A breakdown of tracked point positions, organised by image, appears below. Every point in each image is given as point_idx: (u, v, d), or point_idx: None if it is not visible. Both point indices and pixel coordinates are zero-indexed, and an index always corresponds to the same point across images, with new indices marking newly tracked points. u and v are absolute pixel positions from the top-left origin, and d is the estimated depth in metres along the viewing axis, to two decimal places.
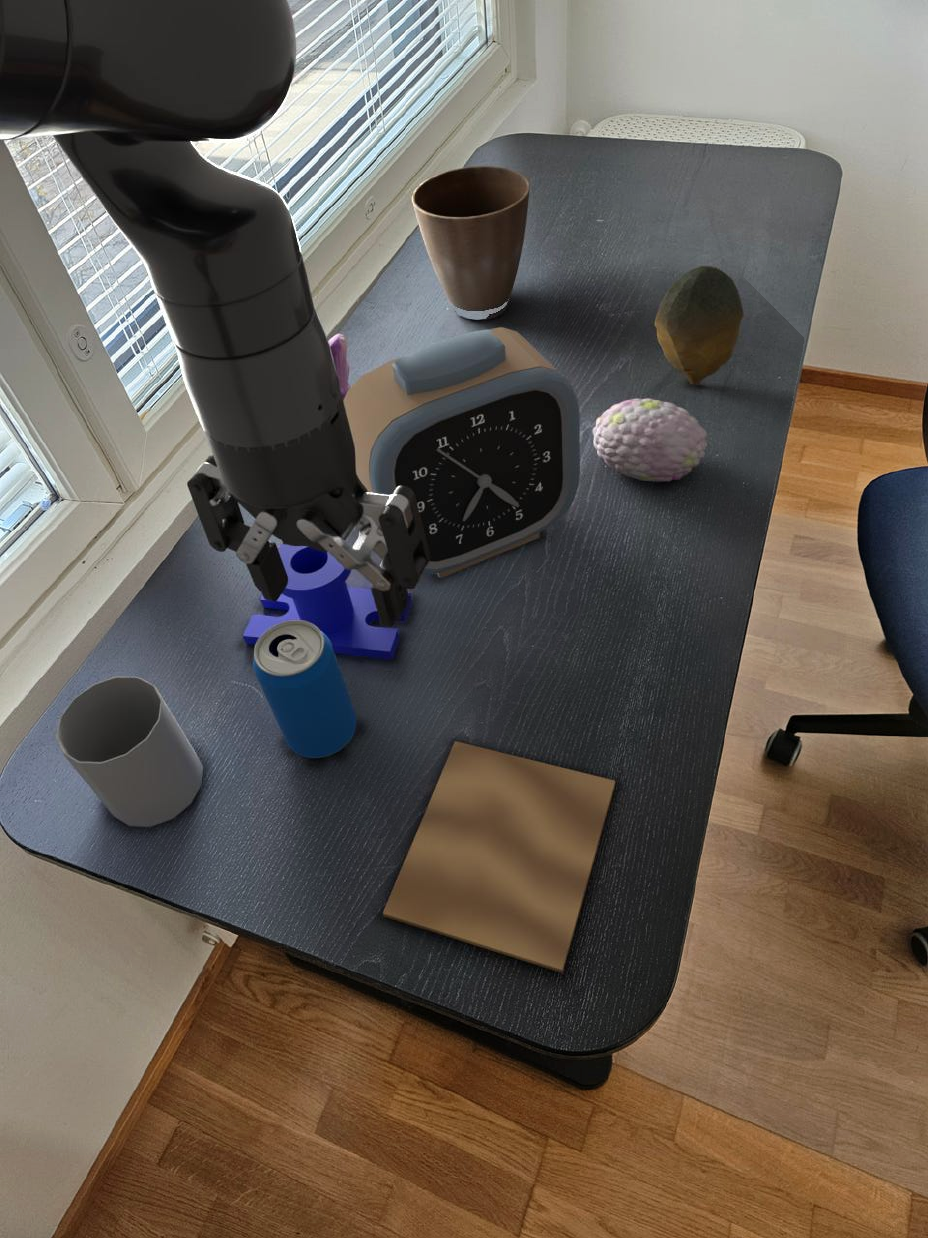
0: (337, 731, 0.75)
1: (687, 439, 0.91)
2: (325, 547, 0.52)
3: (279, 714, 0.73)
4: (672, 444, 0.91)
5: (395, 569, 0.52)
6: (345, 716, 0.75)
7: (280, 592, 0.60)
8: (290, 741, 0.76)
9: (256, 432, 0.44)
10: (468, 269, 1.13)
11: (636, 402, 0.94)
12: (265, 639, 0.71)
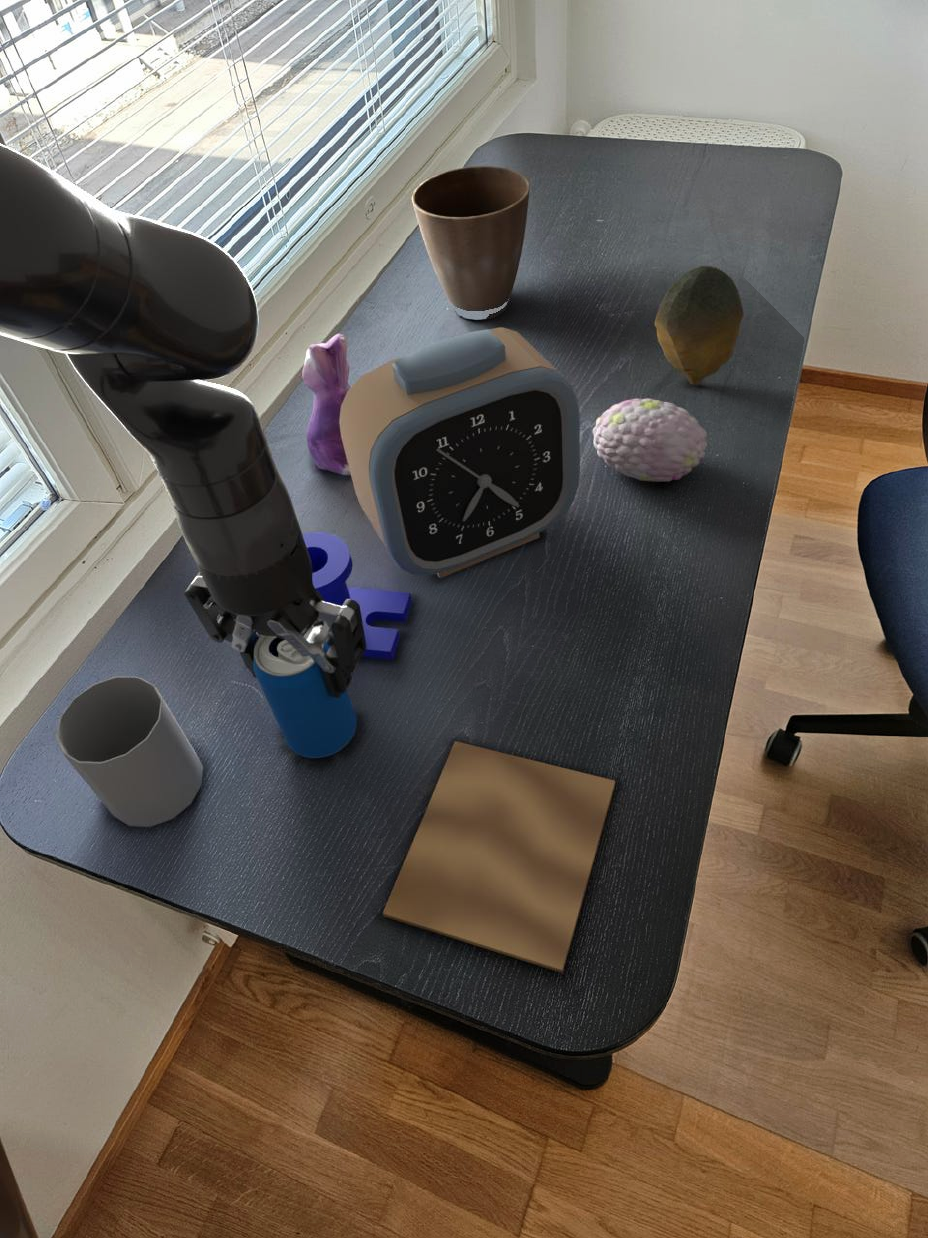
0: (337, 731, 0.75)
1: (687, 439, 0.91)
2: (290, 639, 0.66)
3: (279, 714, 0.73)
4: (672, 444, 0.91)
5: (339, 658, 0.67)
6: (345, 716, 0.75)
7: None
8: (290, 741, 0.76)
9: (233, 566, 0.58)
10: (468, 269, 1.13)
11: (636, 402, 0.94)
12: (265, 639, 0.71)
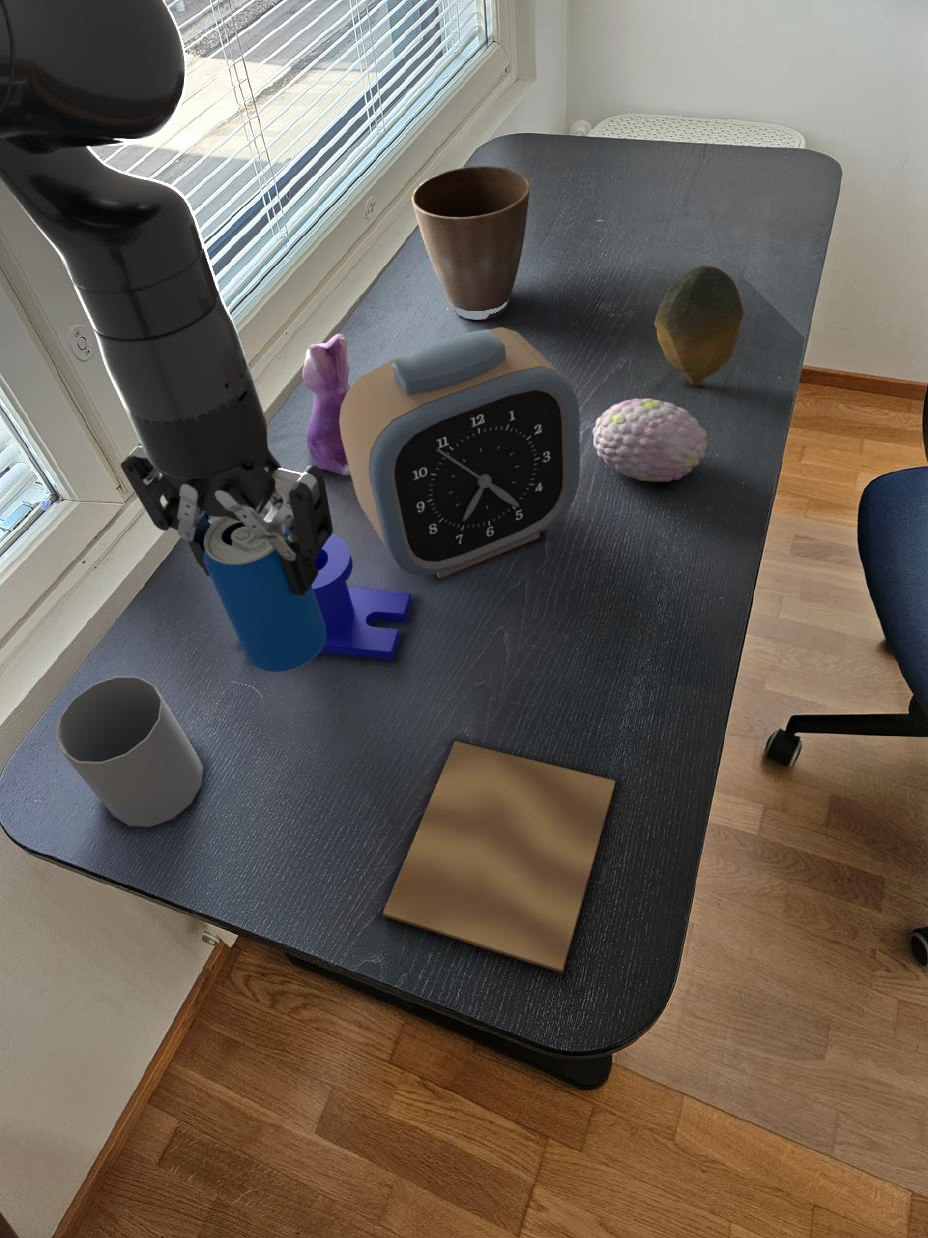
0: (303, 639, 0.66)
1: (687, 439, 0.91)
2: (242, 516, 0.57)
3: (234, 616, 0.63)
4: (672, 444, 0.91)
5: (299, 540, 0.57)
6: (312, 622, 0.66)
7: None
8: (249, 652, 0.66)
9: (167, 407, 0.49)
10: (468, 269, 1.13)
11: (636, 402, 0.94)
12: (218, 527, 0.62)
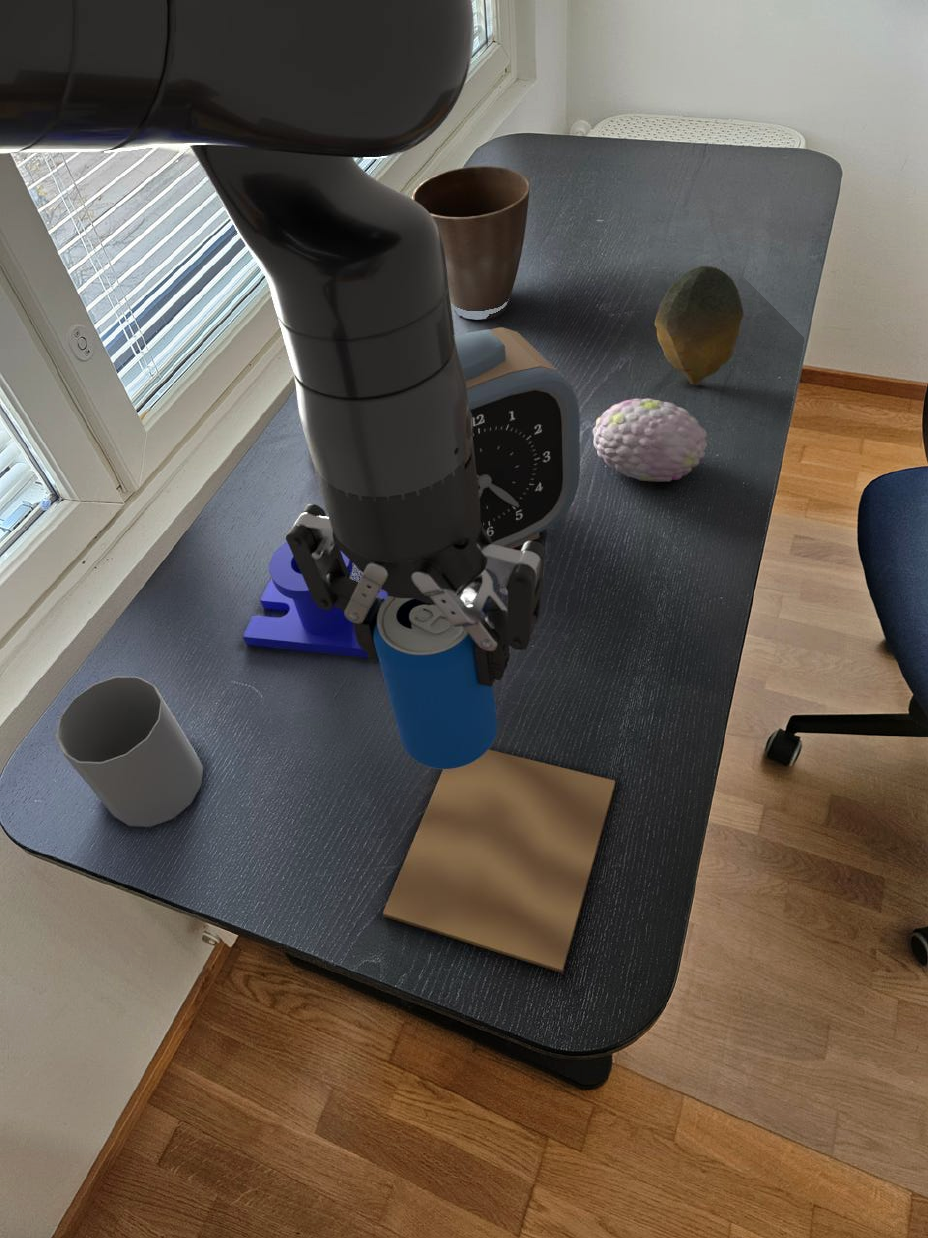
0: (480, 732, 0.55)
1: (687, 439, 0.91)
2: (440, 601, 0.46)
3: (406, 709, 0.53)
4: (672, 444, 0.91)
5: (508, 628, 0.47)
6: (490, 712, 0.55)
7: None
8: (414, 747, 0.56)
9: (386, 480, 0.38)
10: (468, 269, 1.13)
11: (636, 402, 0.94)
12: (390, 605, 0.51)
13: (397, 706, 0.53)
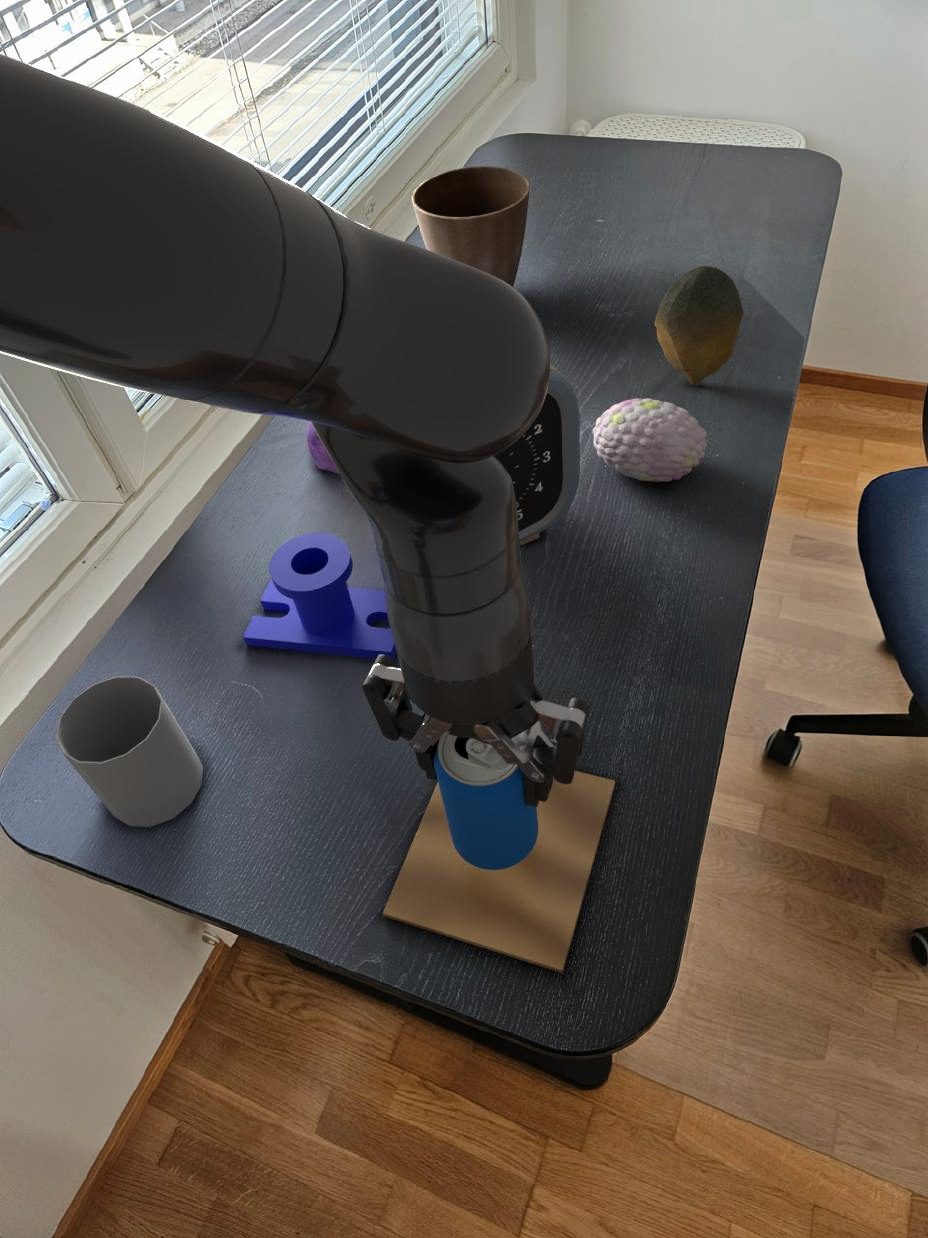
0: (525, 840, 0.62)
1: (687, 439, 0.91)
2: (497, 746, 0.53)
3: (461, 824, 0.60)
4: (672, 444, 0.91)
5: (555, 768, 0.54)
6: (533, 822, 0.62)
7: None
8: (466, 851, 0.63)
9: (461, 670, 0.45)
10: None
11: (636, 402, 0.94)
12: (448, 735, 0.58)
13: (453, 820, 0.60)
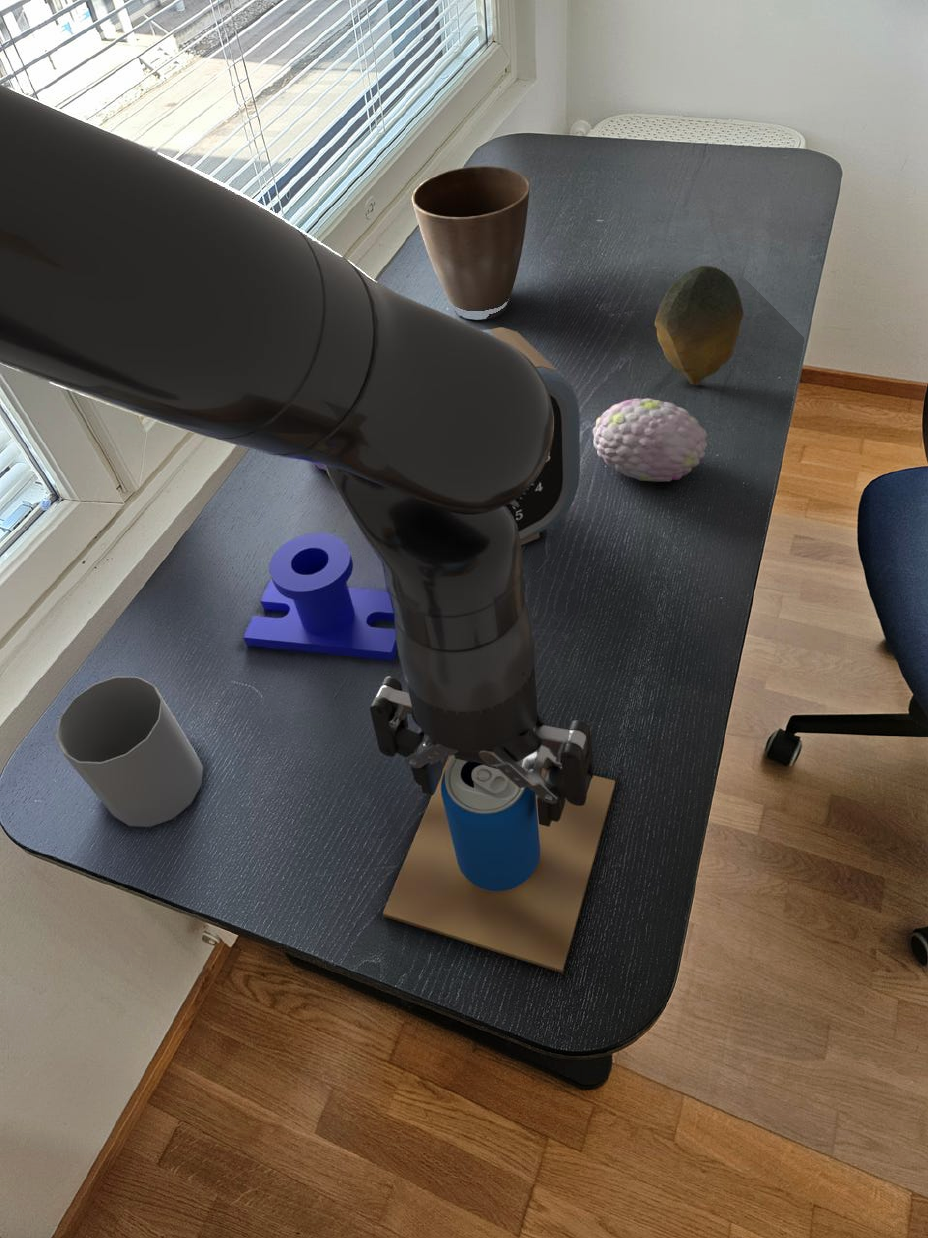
0: (527, 863, 0.65)
1: (687, 439, 0.91)
2: (501, 770, 0.55)
3: (467, 849, 0.62)
4: (672, 444, 0.91)
5: (566, 790, 0.55)
6: (536, 845, 0.65)
7: (437, 785, 0.63)
8: (471, 874, 0.65)
9: (468, 701, 0.47)
10: (468, 269, 1.13)
11: (636, 402, 0.94)
12: (455, 764, 0.61)
13: (458, 844, 0.63)
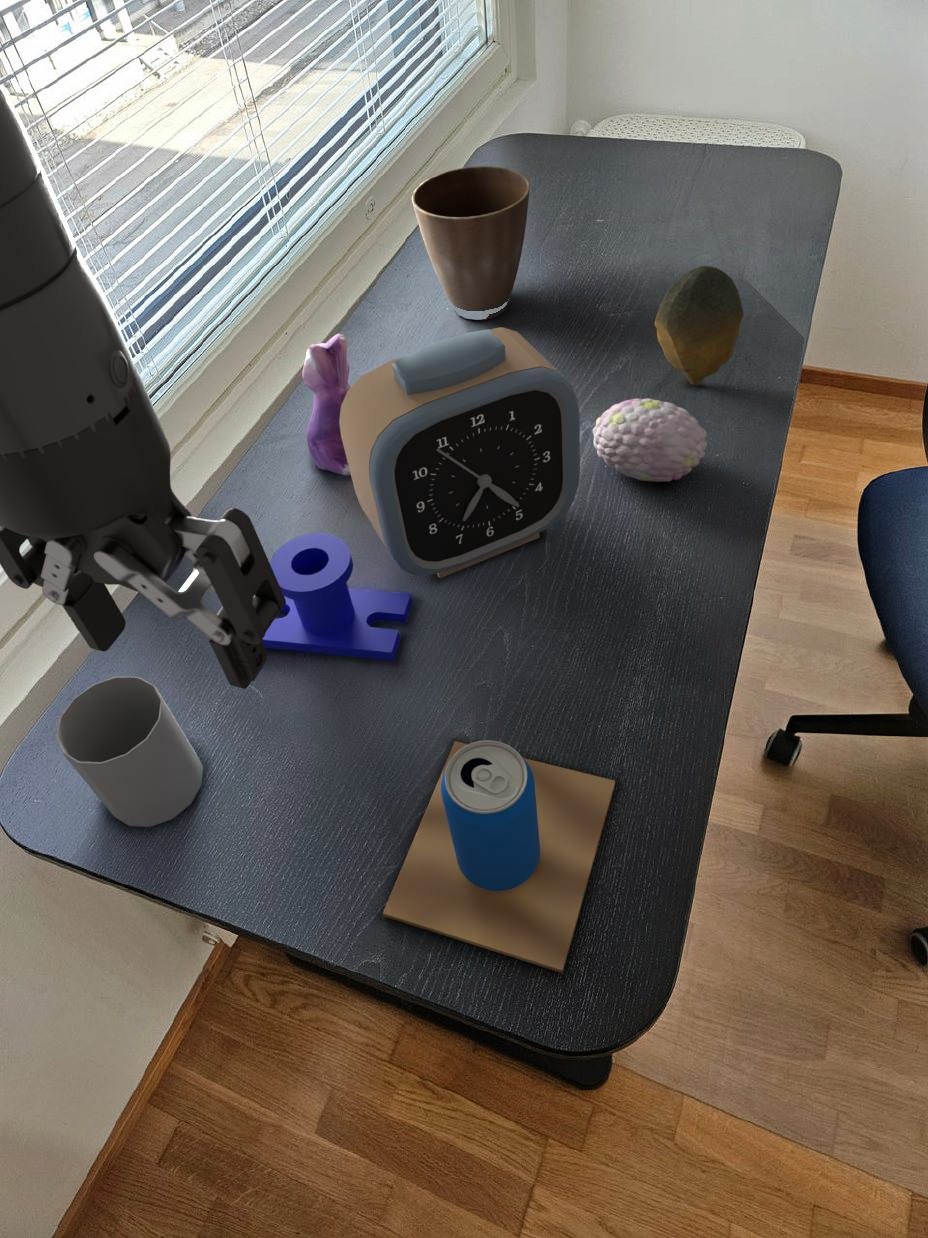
0: (527, 863, 0.65)
1: (687, 439, 0.91)
2: (138, 588, 0.39)
3: (467, 849, 0.62)
4: (672, 444, 0.91)
5: (231, 619, 0.39)
6: (536, 845, 0.65)
7: (113, 639, 0.47)
8: (471, 874, 0.66)
9: None
10: (468, 269, 1.13)
11: (636, 402, 0.94)
12: (455, 764, 0.61)
13: (458, 844, 0.63)
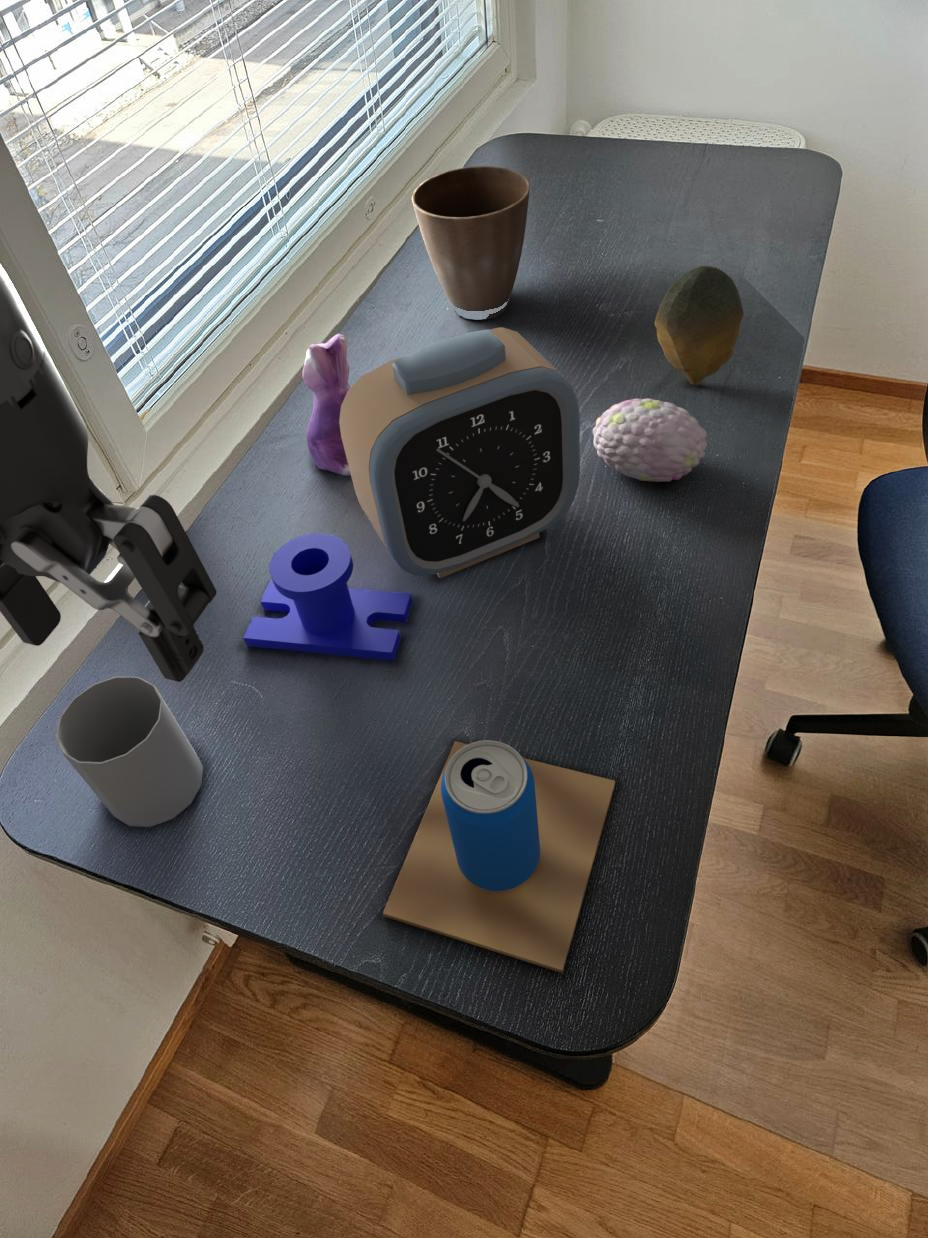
0: (527, 863, 0.65)
1: (687, 439, 0.91)
2: (59, 579, 0.37)
3: (467, 849, 0.62)
4: (672, 444, 0.91)
5: (157, 609, 0.38)
6: (536, 845, 0.65)
7: (47, 633, 0.45)
8: (471, 874, 0.65)
9: None
10: (468, 269, 1.13)
11: (636, 402, 0.94)
12: (455, 764, 0.61)
13: (458, 844, 0.63)
